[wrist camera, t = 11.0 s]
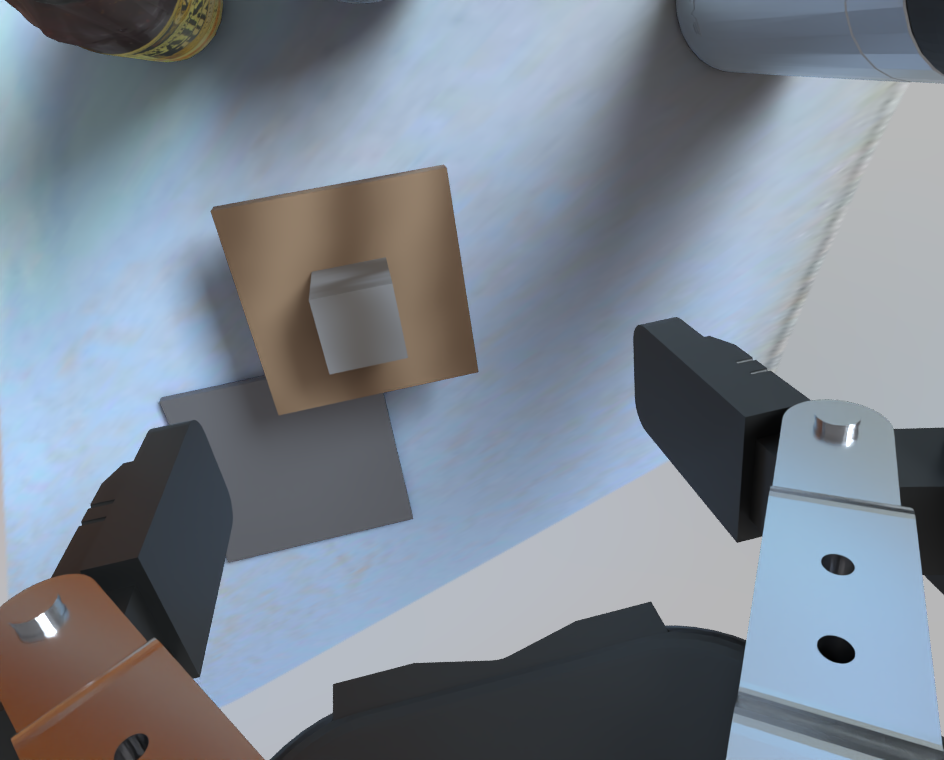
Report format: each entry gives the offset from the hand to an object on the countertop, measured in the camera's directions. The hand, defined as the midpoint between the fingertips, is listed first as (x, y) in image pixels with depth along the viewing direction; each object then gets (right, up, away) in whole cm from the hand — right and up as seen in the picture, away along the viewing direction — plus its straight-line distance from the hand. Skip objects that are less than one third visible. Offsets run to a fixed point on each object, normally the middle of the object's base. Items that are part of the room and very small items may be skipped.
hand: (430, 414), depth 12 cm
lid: (-6, +5, +25) cm, 26 cm away
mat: (-12, -5, +34) cm, 37 cm away
